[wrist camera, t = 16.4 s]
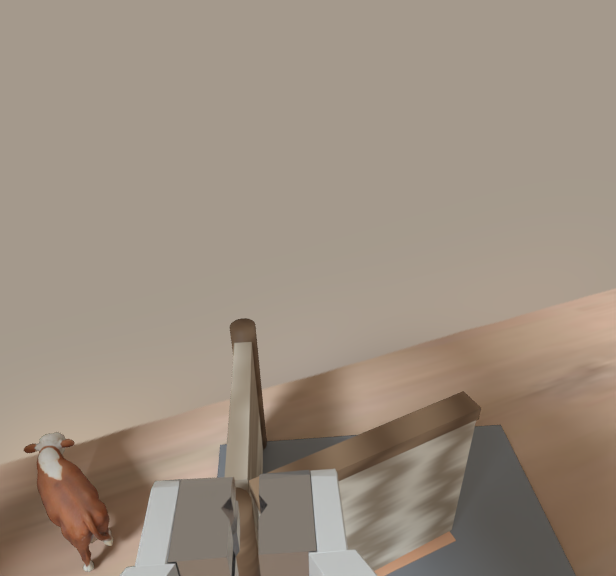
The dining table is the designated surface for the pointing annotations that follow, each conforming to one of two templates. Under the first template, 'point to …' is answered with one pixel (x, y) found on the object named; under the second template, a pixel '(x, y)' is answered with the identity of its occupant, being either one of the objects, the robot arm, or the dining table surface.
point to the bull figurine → (70, 497)
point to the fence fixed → (245, 437)
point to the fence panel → (397, 478)
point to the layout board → (467, 515)
